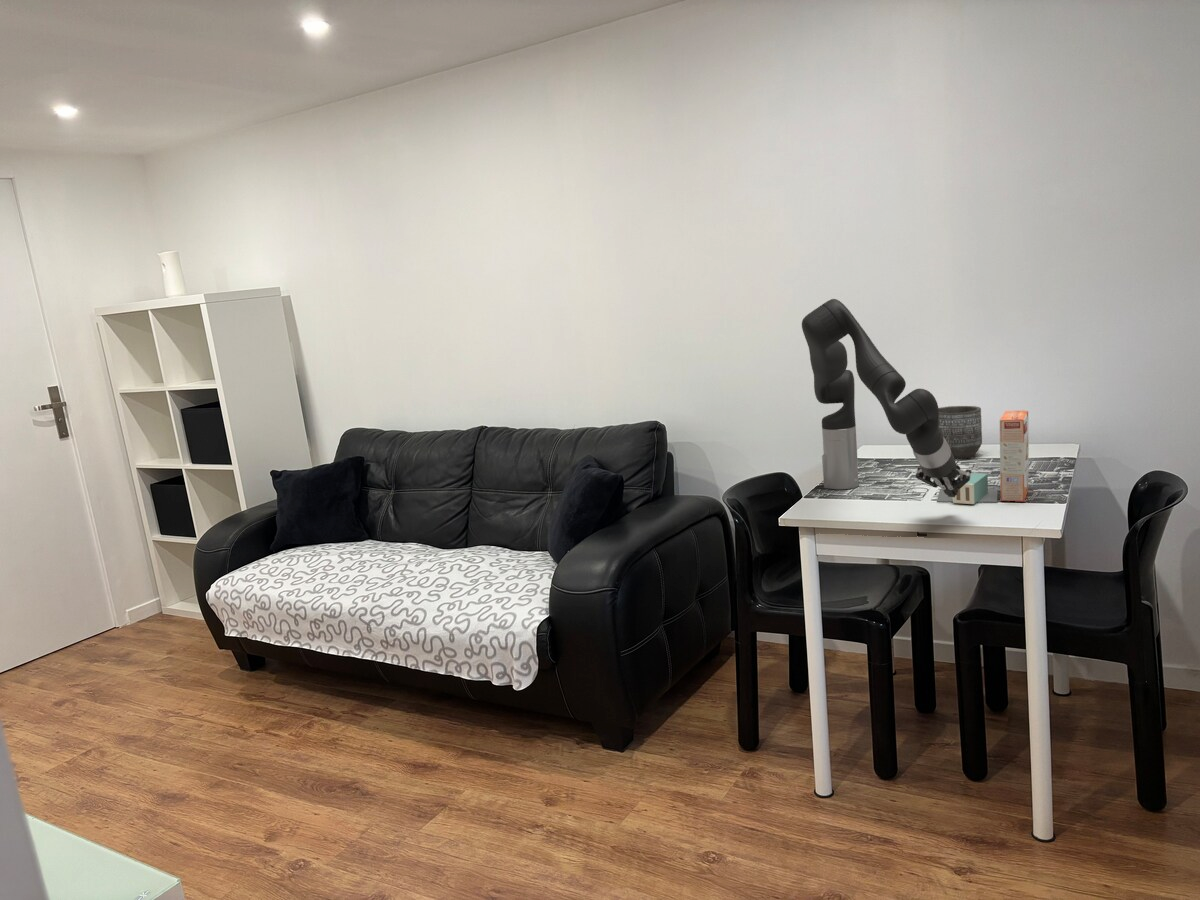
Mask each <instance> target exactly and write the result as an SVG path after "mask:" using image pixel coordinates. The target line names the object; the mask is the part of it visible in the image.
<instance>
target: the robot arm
mask: <svg viewBox="0 0 1200 900" xmlns="http://www.w3.org/2000/svg"><path fill="white" fill-rule="evenodd" d="M847 307H848V306H846V305H845V304H844V303H843V302H842V301H840V300H839V299H836V298H831V299H829V300H827V301H826V302H824V303H822V304H821V305H820V306H818V307H816V308H815V309H814V310H812V311H811V312H808V314H806V315H805V316H804V317H803V319H802V321H801V329H802V330H801V331H802V333H803V336H804V338H805V341H806V343H807V347H808V351H809V358H810V359H809V360H810V366H811V370H812V373H813V388H814V389H813V390H814V394H815V395H814V396H815V399H816V400H817V401H818V402H819V403H820V404H824V405H830V404H831V405H832V404H833V405H835V404H842V407H841V408H839V409H838V410H836V411H835V412H833V413H831V414H828V415H826V416H823V418H822V419H821V431H822V434H821V435H822V446H823V447H822V448H823V449H822V450H823V455H822V456H821V458H822V459H821V460H822V477H823V480H822V481H823V488H824V489H830V490H849V489H855V488H857V487H859V485H860V484H859V483H860V481H859V478H860V477H859V465H858V444H857V442H858V441H857V425H856V412H855V411H856V410H855V409H856V408H855V394H856V393H855V389H856V387H855V377H854V374H853V371H851V370H850V369H847V367H848V363H849V361H848V353H847V349H846V347H845V345H844V344H843V342H841V341H840V340H842V339H843V338H844V337H846V336H847V335H849V336H850V338H851V339H852V342H853V345H854V354H855V368H856V372H857V375H858V378H859V379H860V381H861V382H862V383H863V385H865V387H866V388H867V389H868V390H869V391H870V392H871V394H872V395H874V397H875V398H876V399H877V401H878V403H879V404H880V406H881V407H882V409H883V411H884V414H885V417H886V419H887V421H888V423H889V426H890V427H891V428H892V429H893V430H894V431H895V432H897V433H898V434H901V435H905V437H906V439H907V442H908V443H909V445H910V447H911V449H912V452H913V455H914V457H915V459H916V462H917V463H918V465H919V467H917V470H916V474H915V478H916V479H918V480H919V481H922V482H923V483H924V484H927V485H928V486H930V487H932V488H938V487H940V489H943V491H944V493H945V494H946V495H948V497H955V495H957V492H958V489H960V488H962V487H963V486H964V485H965V484H966V483H967V482H968V481H969V480H970V476H971V473H973V471H972V470H971V469H966V470H962V469H961V467H960V466H959V464H957V463H956V460H955V458H954V456H953V454H952V452H951V450H950V447H949V445H948V443H947V441H946V440H945V438H944V437H943V435H942V433H941V431H940V429H939V408H940V407H939V405H938V401H937V400H936V399H937V398H936V397H935V396H934V395H933V393H932V392H931V391H929V390H928V389H924V388H915V389H914V390H912V391H910V392H909V393H907V394H906V395H905V396H903V397H901V398H900V399H899V400H898V401H896V400H897V399H898V398H899V397H900V395H902V393H903V392H904V390H905V388H906V384H907V383H906V380H905V378H904V377H903V376H902V374H900V373H899V371H897V369H895V367H894V366H893V365H892V364H891V363H890V362H889V361H888V360H887V359H886V358H885V356H884V355H882V353H881V352H880V351H879V350H878V348H877V347H876V345H875V344H874V343H873V341H872V340H871V338H870V337H869V335H868V334H867V332H866V331H865V330H864V328H863V327H862V326H861V324H860V323H859V321H858V320H857V319H856V318H855V316H854V315H853V314H852V312H851V311H850V309H848V308H847ZM931 479H932V480H933V481H932V480H931Z"/></svg>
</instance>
